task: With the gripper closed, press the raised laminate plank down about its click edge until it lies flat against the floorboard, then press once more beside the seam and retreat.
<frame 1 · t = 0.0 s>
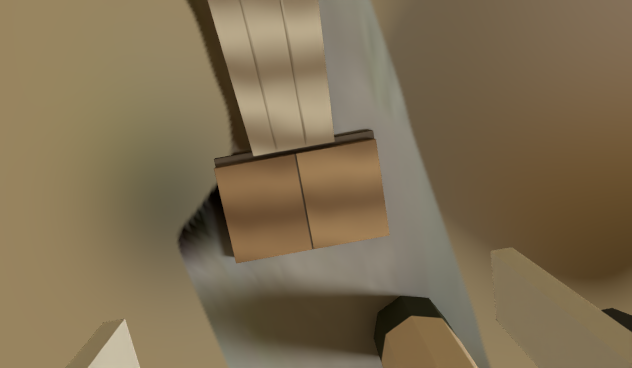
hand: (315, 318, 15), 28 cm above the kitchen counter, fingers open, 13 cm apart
plank: (276, 59, 34), point 5 cm above the kitchen counter, hinge at 30.0°
floorboard: (303, 199, 42), on the kitchen counter
wine bottle: (408, 327, 46), on the kitchen counter
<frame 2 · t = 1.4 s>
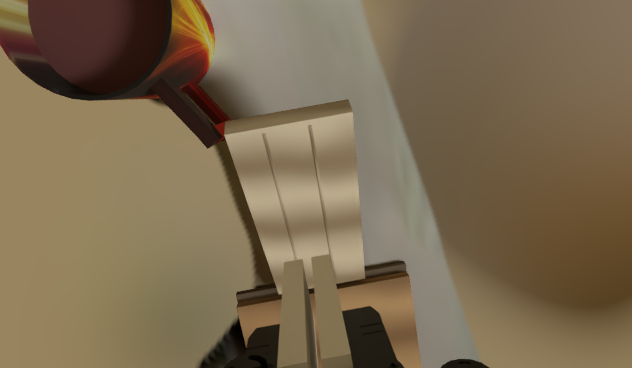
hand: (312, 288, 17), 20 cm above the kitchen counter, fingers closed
plank: (307, 214, 32), point 5 cm above the kitchen counter, hinge at 30.0°
floorboard: (330, 330, 40), on the kitchen counter
mug: (180, 49, 34), on the kitchen counter
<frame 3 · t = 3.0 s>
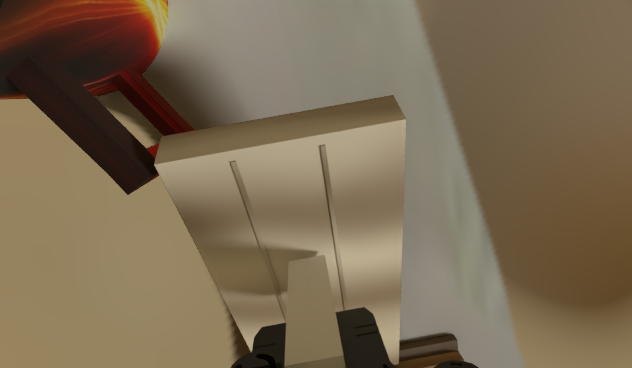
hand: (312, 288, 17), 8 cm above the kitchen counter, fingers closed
plank: (314, 283, 19), point 5 cm above the kitchen counter, hinge at 29.5°, touching gripper
mug: (114, 19, 22), on the kitchen counter
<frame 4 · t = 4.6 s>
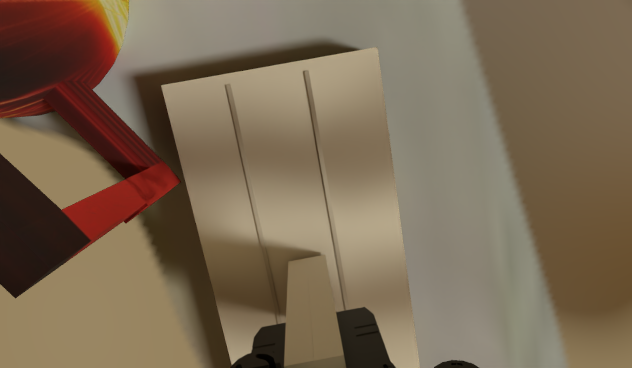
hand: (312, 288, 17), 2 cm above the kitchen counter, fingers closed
plank: (311, 280, 18), point 1 cm above the kitchen counter, hinge at 0.9°, touching gripper
mug: (57, 15, 16), on the kitchen counter
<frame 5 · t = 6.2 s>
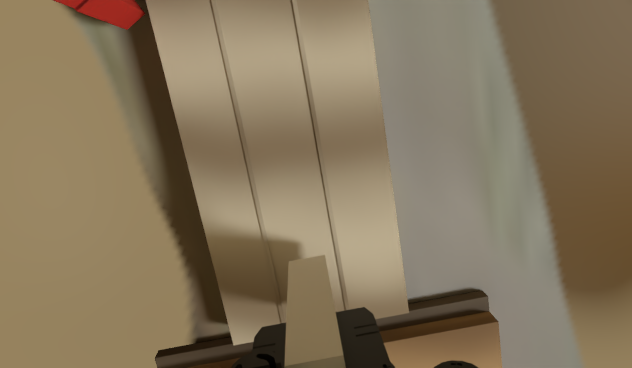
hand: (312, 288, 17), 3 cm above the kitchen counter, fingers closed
plank: (283, 129, 17), point 1 cm above the kitchen counter, hinge at 0.9°
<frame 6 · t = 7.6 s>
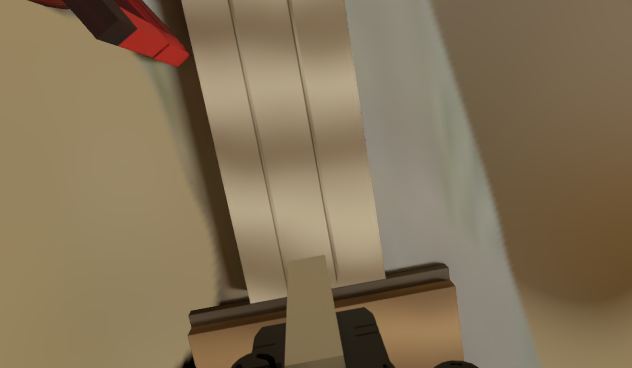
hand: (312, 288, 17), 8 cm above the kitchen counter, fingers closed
plank: (289, 137, 23), point 1 cm above the kitchen counter, hinge at 0.9°
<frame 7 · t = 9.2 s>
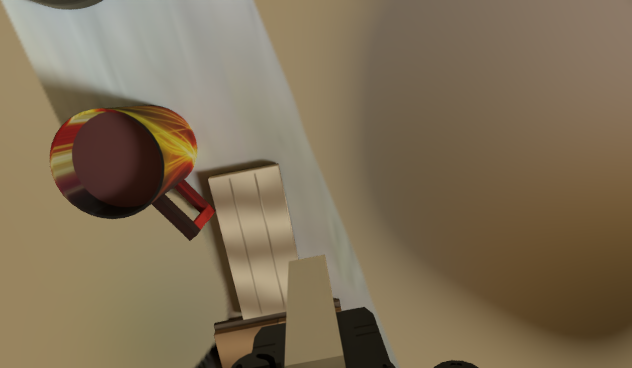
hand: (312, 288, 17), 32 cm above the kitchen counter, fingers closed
plank: (260, 243, 49), point 1 cm above the kitchen counter, hinge at 0.9°
floorboard: (286, 350, 53), on the kitchen counter
mug: (172, 155, 47), on the kitchen counter
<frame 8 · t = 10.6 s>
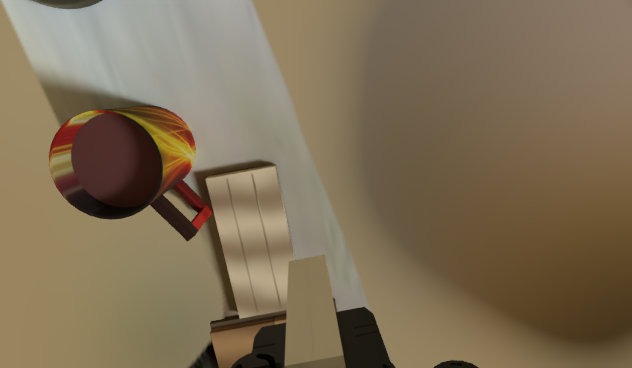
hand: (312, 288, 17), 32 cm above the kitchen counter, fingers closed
plank: (257, 243, 49), point 1 cm above the kitchen counter, hinge at 0.9°
floorboard: (281, 349, 54), on the kitchen counter
mug: (171, 155, 48), on the kitchen counter
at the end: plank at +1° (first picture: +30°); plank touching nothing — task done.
